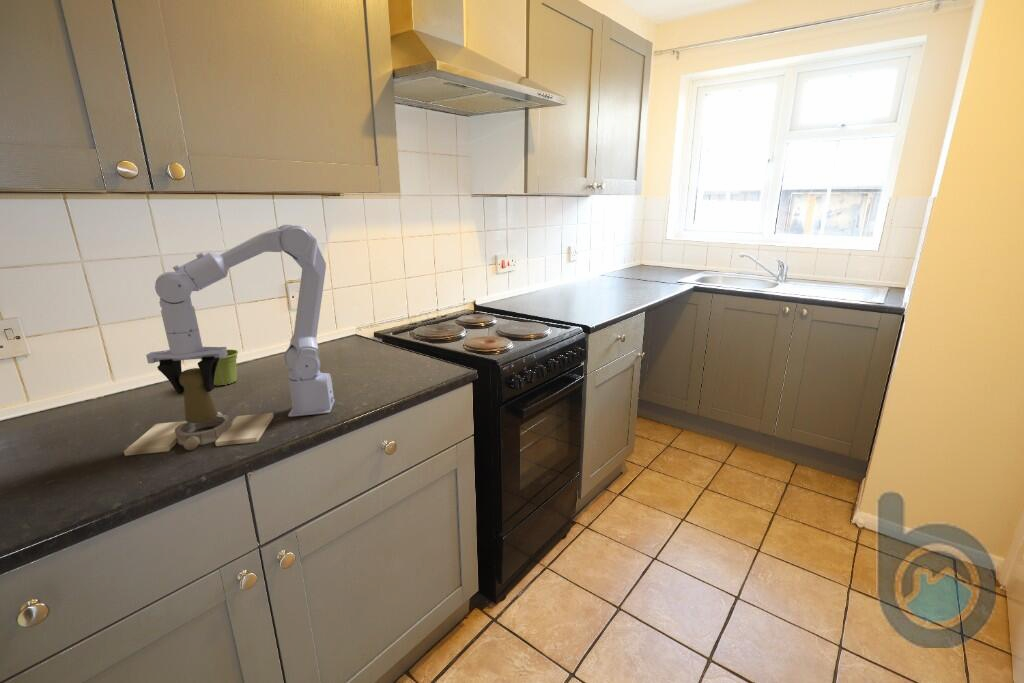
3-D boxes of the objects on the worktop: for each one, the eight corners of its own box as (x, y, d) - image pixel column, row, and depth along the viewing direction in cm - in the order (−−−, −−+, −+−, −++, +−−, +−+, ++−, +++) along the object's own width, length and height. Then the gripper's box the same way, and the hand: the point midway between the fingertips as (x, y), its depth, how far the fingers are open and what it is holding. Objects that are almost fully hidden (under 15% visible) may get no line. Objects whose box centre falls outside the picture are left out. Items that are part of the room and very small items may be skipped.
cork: (187, 425, 101) (176, 378, 98) (183, 415, 106) (173, 369, 102) (219, 417, 105) (210, 371, 101) (215, 407, 109) (206, 362, 106)
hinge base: (274, 415, 115) (273, 405, 114) (256, 443, 101) (254, 432, 101) (158, 426, 110) (156, 416, 110) (122, 457, 97) (119, 446, 96)
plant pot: (204, 382, 138) (197, 353, 136) (240, 374, 144) (235, 347, 141) (207, 391, 131) (201, 361, 129) (246, 383, 136) (240, 354, 134)
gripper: (227, 323, 104) (238, 381, 108) (153, 328, 102) (167, 387, 105) (214, 331, 98) (227, 393, 101) (135, 336, 95) (150, 400, 99)
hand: (195, 391), depth 103 cm, fingers closed on cork, 5 cm apart
